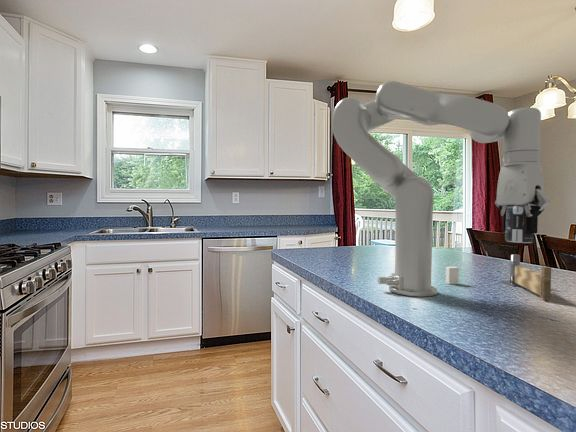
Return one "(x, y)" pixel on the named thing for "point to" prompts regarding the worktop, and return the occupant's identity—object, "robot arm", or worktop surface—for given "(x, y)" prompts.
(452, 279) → the block
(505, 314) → the worktop surface
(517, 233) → the pill bottle
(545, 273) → the gate
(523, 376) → the worktop surface
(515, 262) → the hinge post
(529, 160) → the robot arm
